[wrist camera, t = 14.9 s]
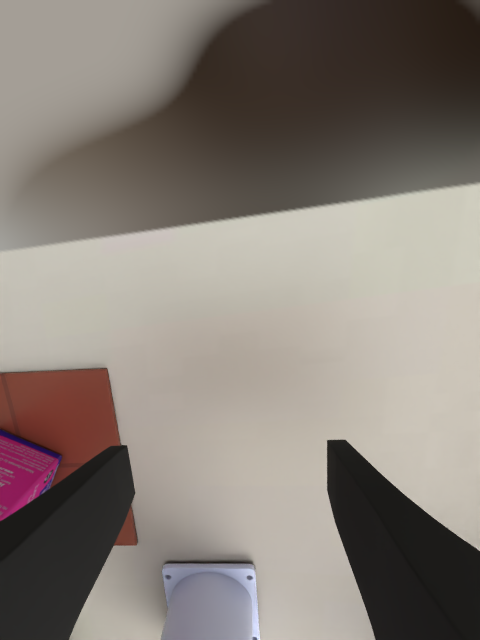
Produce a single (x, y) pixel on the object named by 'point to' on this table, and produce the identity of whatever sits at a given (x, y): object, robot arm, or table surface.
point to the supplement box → (23, 472)
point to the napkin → (64, 419)
